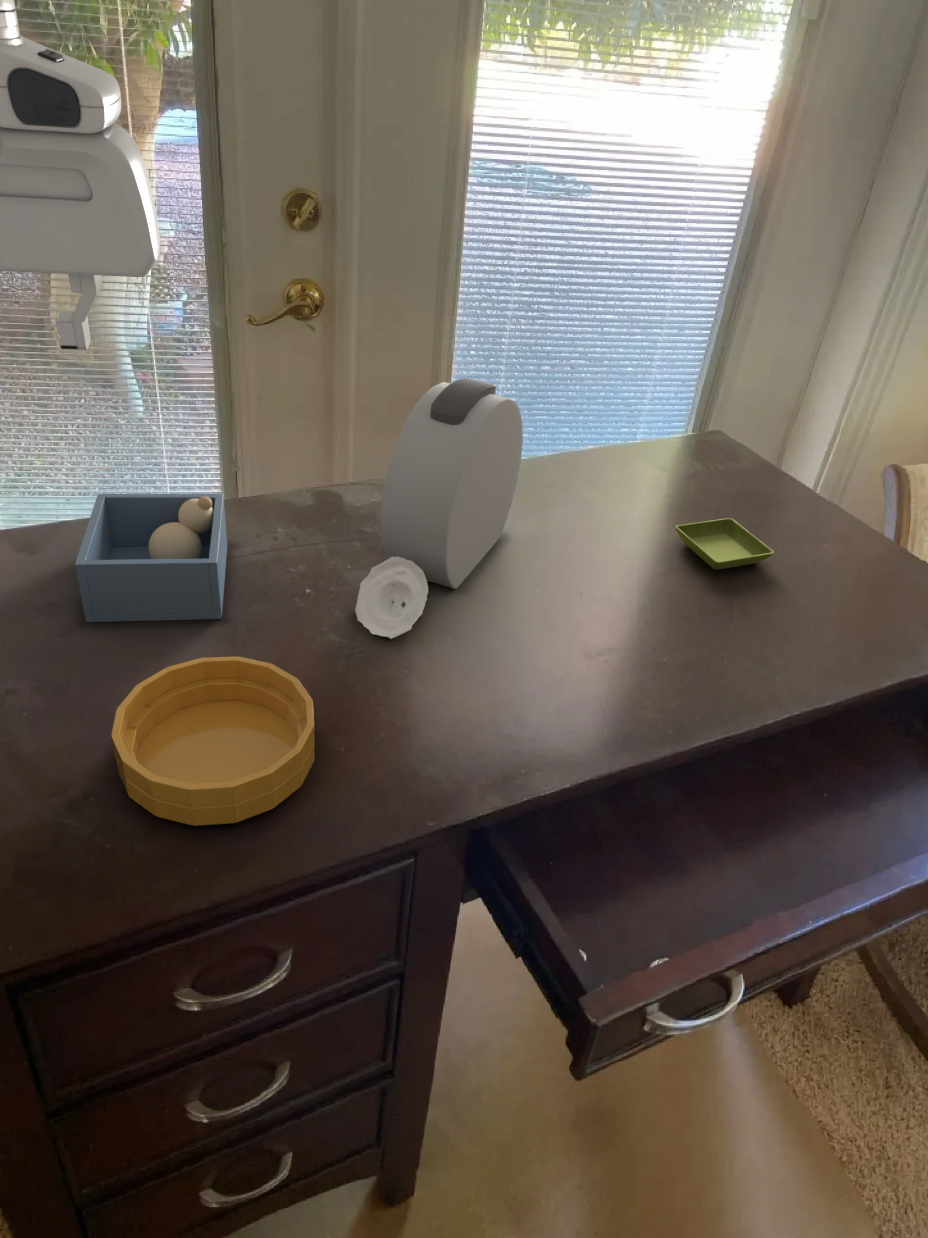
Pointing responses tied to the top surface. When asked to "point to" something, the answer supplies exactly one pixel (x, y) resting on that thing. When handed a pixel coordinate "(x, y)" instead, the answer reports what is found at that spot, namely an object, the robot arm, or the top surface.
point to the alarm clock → (452, 479)
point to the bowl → (214, 740)
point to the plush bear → (183, 532)
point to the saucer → (723, 543)
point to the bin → (148, 562)
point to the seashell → (392, 597)
